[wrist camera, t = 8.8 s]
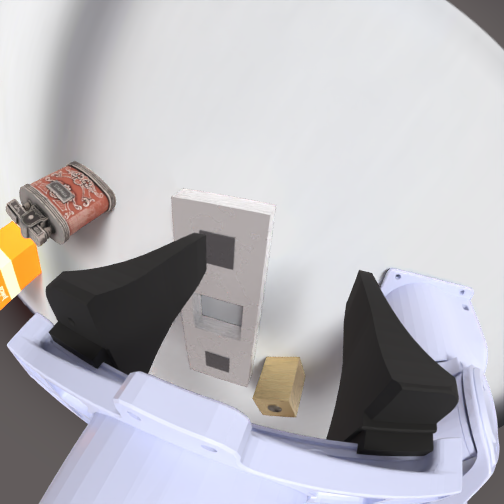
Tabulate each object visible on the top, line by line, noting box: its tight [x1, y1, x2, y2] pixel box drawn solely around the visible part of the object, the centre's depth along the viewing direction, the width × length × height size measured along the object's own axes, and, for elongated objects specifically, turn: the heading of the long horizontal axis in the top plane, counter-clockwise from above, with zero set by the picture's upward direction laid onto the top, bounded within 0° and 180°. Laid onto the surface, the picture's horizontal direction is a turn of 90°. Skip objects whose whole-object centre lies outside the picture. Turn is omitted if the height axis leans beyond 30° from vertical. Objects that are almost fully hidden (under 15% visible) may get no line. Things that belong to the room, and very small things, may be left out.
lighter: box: [6, 161, 116, 247], centre depth 22 cm, size 8×3×10 cm, turn 57°
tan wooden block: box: [252, 357, 305, 417], centre depth 29 cm, size 4×4×6 cm
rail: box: [171, 188, 276, 387], centre depth 28 cm, size 8×24×2 cm, turn 175°
